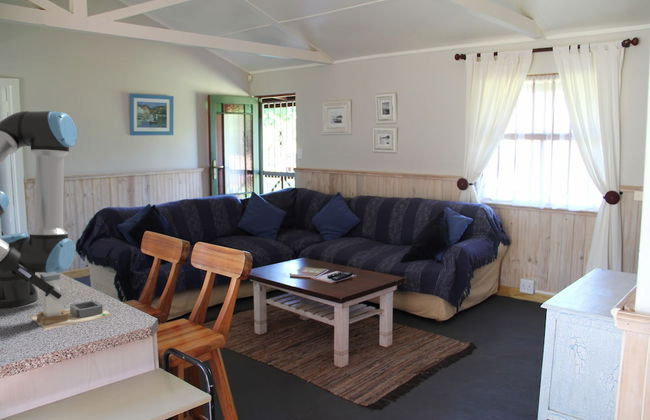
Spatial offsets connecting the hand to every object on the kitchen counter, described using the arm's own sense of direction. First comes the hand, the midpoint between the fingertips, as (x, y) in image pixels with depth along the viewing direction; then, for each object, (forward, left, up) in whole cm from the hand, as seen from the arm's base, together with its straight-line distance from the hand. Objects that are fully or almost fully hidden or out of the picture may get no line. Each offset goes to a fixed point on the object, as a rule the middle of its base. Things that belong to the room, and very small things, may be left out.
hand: (64, 300), depth 173 cm
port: (+1, +6, -5) cm, 8 cm away
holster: (0, -4, -5) cm, 6 cm away
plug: (0, -4, -4) cm, 6 cm away
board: (0, +2, -6) cm, 7 cm away
